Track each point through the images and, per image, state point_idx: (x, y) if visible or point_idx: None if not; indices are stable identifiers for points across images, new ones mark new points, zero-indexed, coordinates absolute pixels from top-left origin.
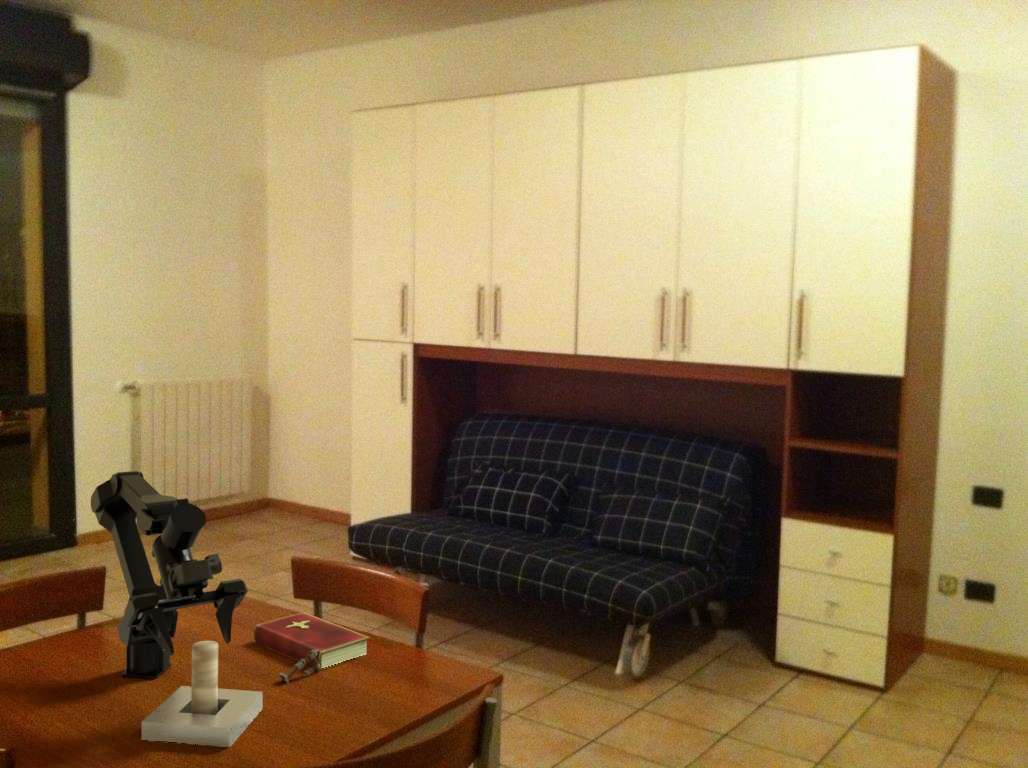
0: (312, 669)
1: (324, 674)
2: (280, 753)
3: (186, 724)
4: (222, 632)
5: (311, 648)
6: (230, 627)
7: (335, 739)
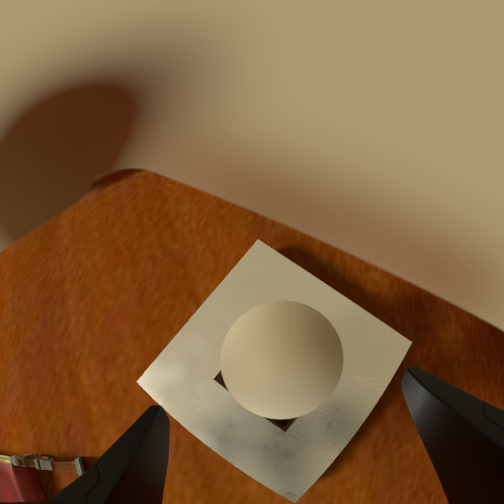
0: (37, 457)
1: (31, 441)
2: (197, 207)
3: (334, 291)
4: (161, 476)
5: (18, 487)
6: (120, 440)
7: (116, 216)
